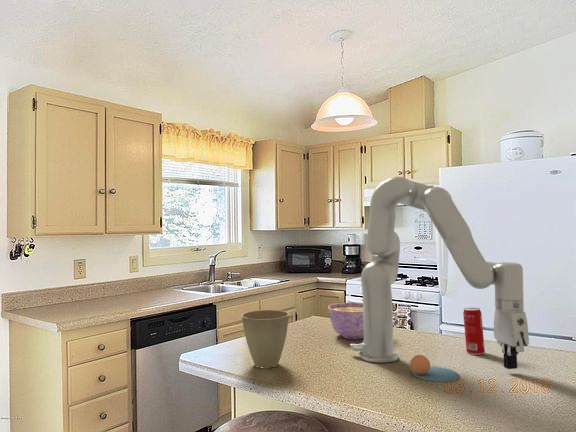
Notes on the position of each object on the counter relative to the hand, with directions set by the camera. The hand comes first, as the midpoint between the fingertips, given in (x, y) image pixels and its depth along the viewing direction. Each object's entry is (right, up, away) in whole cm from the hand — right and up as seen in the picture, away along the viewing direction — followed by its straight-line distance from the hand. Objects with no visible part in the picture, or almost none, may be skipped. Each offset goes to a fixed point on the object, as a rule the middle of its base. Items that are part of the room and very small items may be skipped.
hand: (510, 367), depth 132 cm
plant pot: (-72, -3, +10) cm, 73 cm away
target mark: (-22, -2, 0) cm, 22 cm away
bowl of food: (-39, -3, +45) cm, 60 cm away
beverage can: (-2, -2, +21) cm, 21 cm away
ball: (-27, +1, -1) cm, 27 cm away
